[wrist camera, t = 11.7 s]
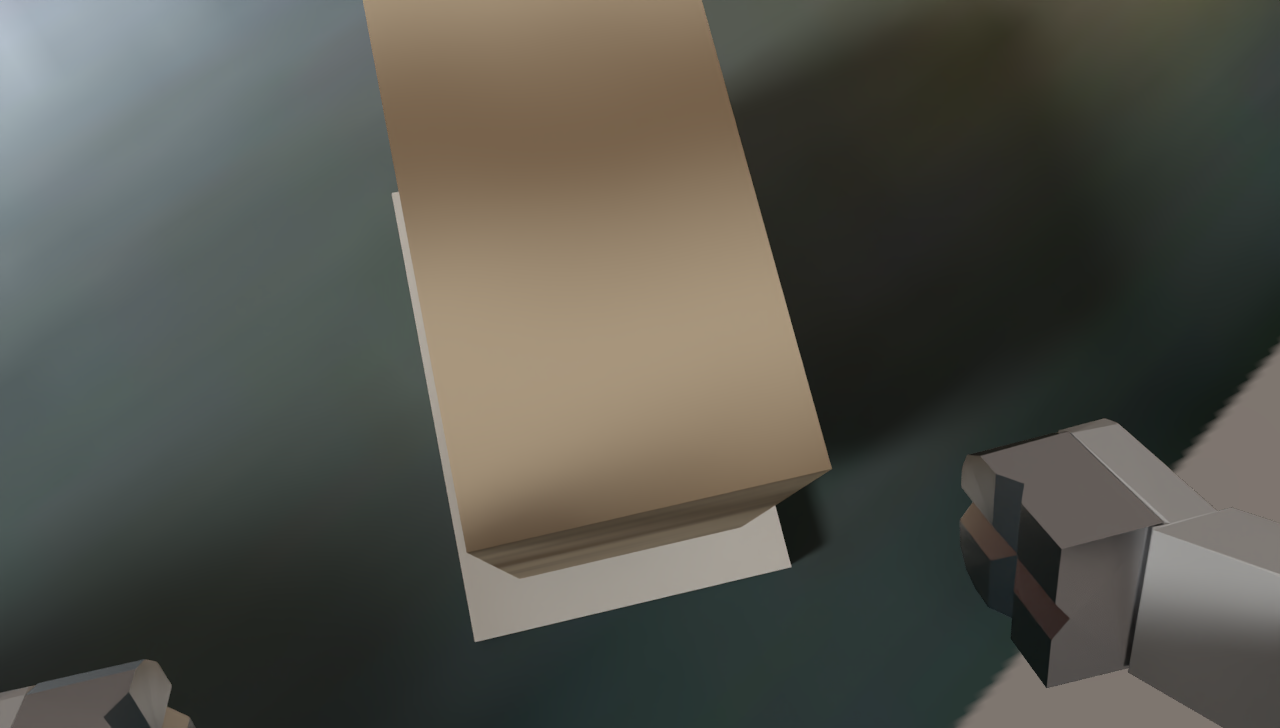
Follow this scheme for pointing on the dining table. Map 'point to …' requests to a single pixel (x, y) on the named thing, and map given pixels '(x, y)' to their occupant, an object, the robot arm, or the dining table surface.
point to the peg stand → (599, 584)
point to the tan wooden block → (590, 276)
